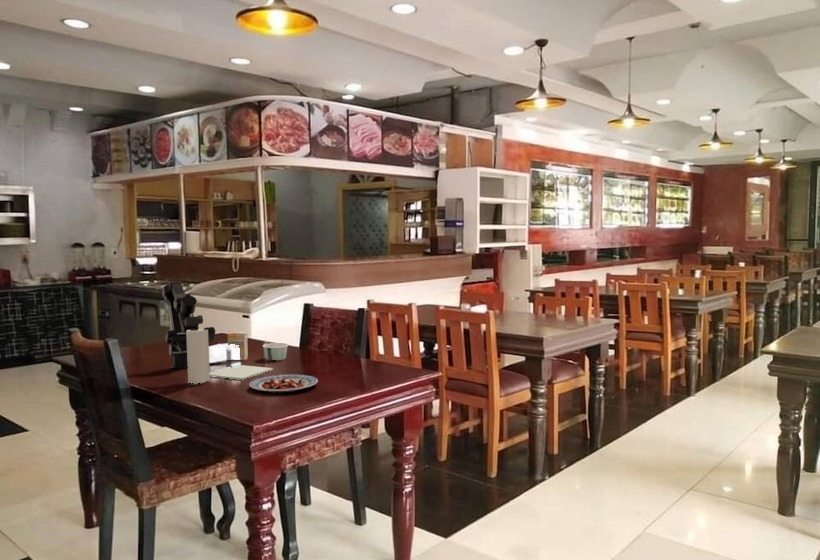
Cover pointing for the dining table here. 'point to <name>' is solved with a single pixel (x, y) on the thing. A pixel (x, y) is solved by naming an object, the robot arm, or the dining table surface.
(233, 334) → the supplement box
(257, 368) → the sage board
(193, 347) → the paper towel roll
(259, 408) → the dining table surface
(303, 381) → the ceramic plate
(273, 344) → the food container
